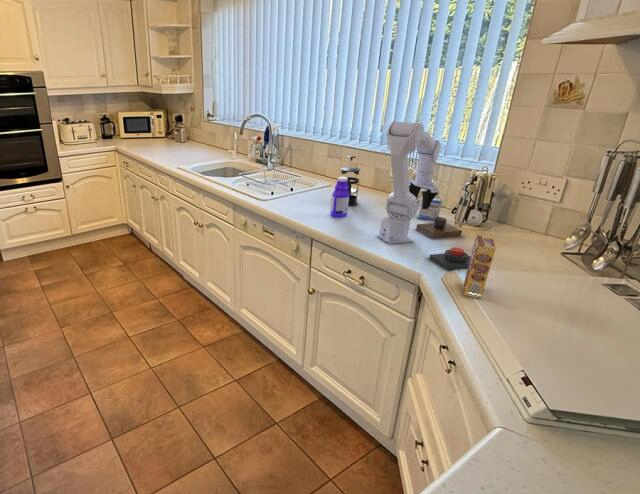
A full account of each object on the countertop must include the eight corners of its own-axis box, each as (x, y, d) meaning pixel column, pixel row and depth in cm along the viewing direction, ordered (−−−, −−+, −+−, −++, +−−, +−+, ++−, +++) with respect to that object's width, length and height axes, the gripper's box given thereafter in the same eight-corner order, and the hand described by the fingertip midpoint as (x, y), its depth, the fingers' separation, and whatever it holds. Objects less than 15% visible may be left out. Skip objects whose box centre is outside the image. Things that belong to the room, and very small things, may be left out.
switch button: (455, 257, 125) (456, 252, 125) (447, 252, 128) (448, 247, 128) (465, 256, 126) (466, 251, 125) (457, 251, 129) (458, 246, 128)
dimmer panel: (432, 239, 148) (433, 232, 147) (415, 230, 157) (416, 223, 156) (460, 236, 150) (462, 230, 149) (442, 227, 159) (443, 221, 158)
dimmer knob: (447, 228, 151) (449, 219, 149) (437, 229, 150) (439, 219, 149) (440, 225, 154) (441, 215, 153) (430, 225, 154) (432, 216, 152)
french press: (357, 206, 186) (363, 158, 178) (337, 205, 188) (341, 157, 180) (355, 200, 197) (361, 153, 188) (336, 199, 199) (340, 153, 190)
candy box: (482, 299, 107) (496, 248, 101) (464, 296, 109) (476, 245, 103) (480, 285, 114) (493, 237, 108) (463, 282, 116) (475, 234, 110)
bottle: (341, 213, 178) (345, 175, 171) (349, 217, 173) (353, 178, 166) (327, 215, 176) (331, 176, 169) (335, 219, 171) (338, 179, 164)
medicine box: (417, 218, 170) (421, 199, 166) (417, 215, 173) (420, 196, 170) (438, 220, 167) (442, 201, 164) (437, 217, 171) (441, 198, 167)
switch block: (447, 270, 123) (450, 260, 122) (428, 259, 131) (430, 249, 130) (481, 267, 125) (483, 257, 124) (460, 256, 133) (462, 246, 132)
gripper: (447, 175, 144) (440, 210, 149) (422, 167, 158) (416, 200, 163) (430, 176, 143) (423, 211, 148) (406, 168, 156) (401, 201, 161)
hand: (418, 205), depth 155 cm, fingers open, 7 cm apart
